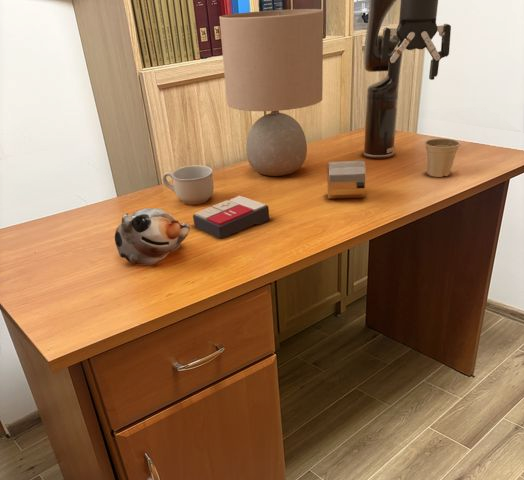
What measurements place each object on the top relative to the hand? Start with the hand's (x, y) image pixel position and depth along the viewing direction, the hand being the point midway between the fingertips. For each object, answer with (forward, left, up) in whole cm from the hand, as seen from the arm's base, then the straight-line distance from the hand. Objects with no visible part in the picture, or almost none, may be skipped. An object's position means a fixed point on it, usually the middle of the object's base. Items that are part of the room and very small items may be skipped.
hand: (411, 80), depth 119 cm
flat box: (+10, -42, -28) cm, 51 cm away
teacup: (-8, -55, -28) cm, 62 cm away
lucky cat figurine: (+27, -57, -28) cm, 69 cm away
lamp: (-31, -32, -28) cm, 53 cm away
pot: (-6, -13, -28) cm, 32 cm away
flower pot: (-22, +14, -28) cm, 38 cm away
